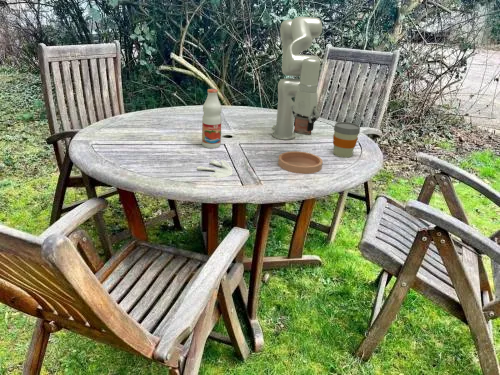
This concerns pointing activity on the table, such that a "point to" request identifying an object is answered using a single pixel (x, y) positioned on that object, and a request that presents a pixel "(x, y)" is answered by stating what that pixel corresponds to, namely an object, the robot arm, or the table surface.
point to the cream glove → (221, 173)
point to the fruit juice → (211, 120)
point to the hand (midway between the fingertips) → (303, 128)
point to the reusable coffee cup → (345, 138)
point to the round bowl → (300, 162)
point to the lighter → (301, 125)
